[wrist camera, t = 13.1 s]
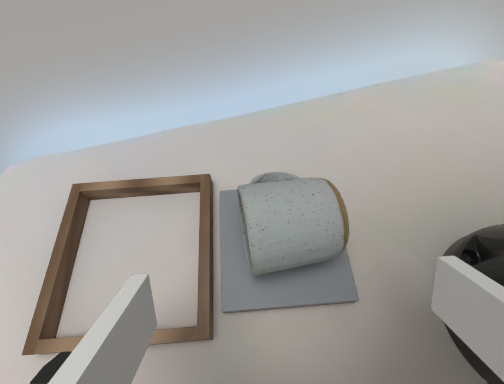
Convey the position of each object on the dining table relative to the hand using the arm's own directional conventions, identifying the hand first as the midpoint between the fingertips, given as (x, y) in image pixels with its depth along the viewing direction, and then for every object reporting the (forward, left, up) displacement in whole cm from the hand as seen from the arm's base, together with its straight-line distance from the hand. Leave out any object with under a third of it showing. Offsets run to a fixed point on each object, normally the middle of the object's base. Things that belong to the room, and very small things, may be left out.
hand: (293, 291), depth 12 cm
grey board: (-1, -7, -14) cm, 15 cm away
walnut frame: (+13, -7, -14) cm, 20 cm away
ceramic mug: (-1, -8, -12) cm, 15 cm away
